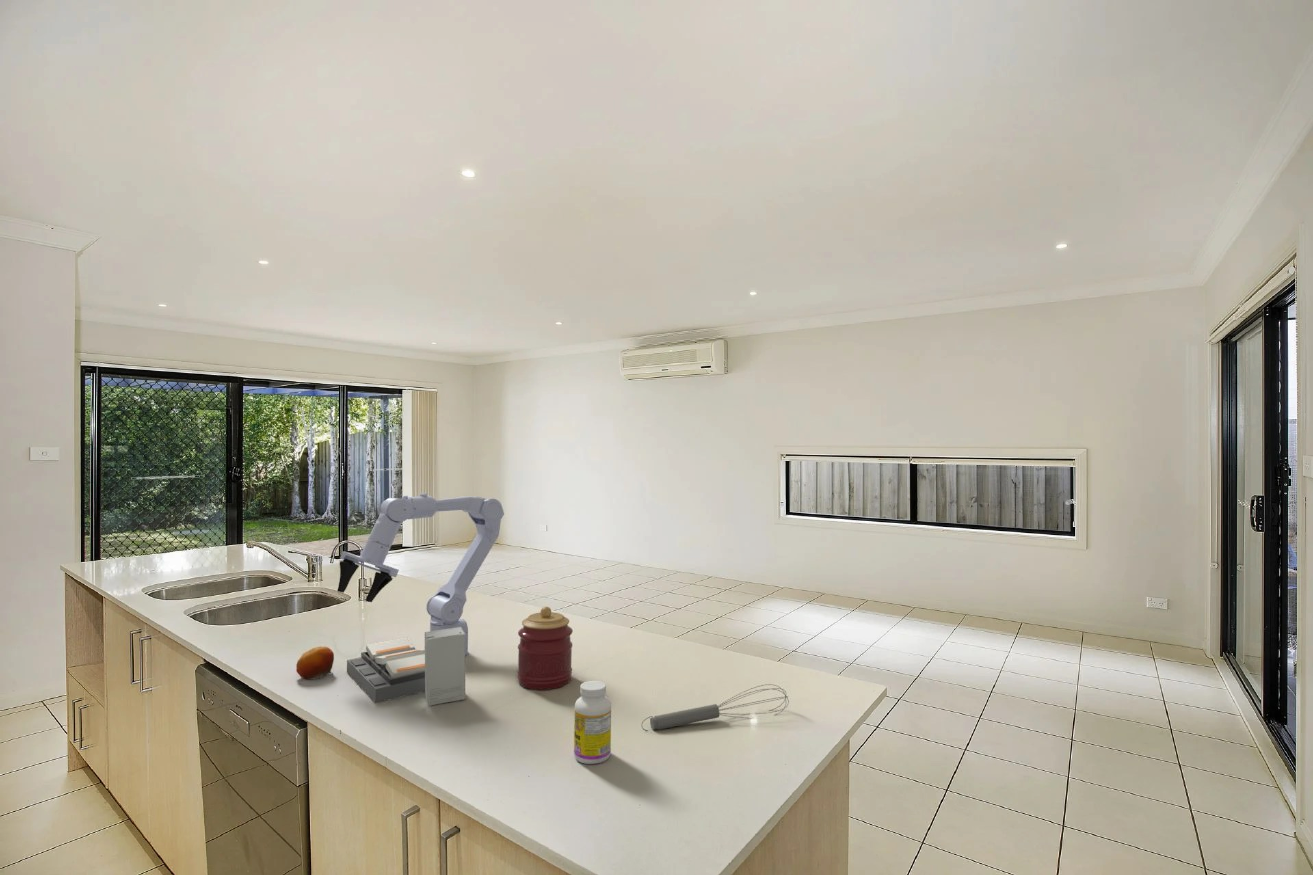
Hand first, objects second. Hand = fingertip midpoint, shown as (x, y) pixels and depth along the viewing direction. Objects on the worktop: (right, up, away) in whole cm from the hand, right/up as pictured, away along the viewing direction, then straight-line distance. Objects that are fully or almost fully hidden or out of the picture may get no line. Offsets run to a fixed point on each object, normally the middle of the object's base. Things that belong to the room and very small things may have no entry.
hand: (354, 596), depth 150 cm
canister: (+47, -20, -2) cm, 51 cm away
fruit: (-9, -19, -1) cm, 21 cm away
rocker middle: (+12, -15, -1) cm, 19 cm away
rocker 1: (+7, -15, +5) cm, 17 cm away
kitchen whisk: (+87, -20, -23) cm, 92 cm away
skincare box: (+27, -19, -14) cm, 36 cm away
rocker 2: (+17, -15, -7) cm, 24 cm away
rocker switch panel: (+9, -19, -1) cm, 21 cm away
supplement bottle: (+62, -19, -39) cm, 76 cm away
